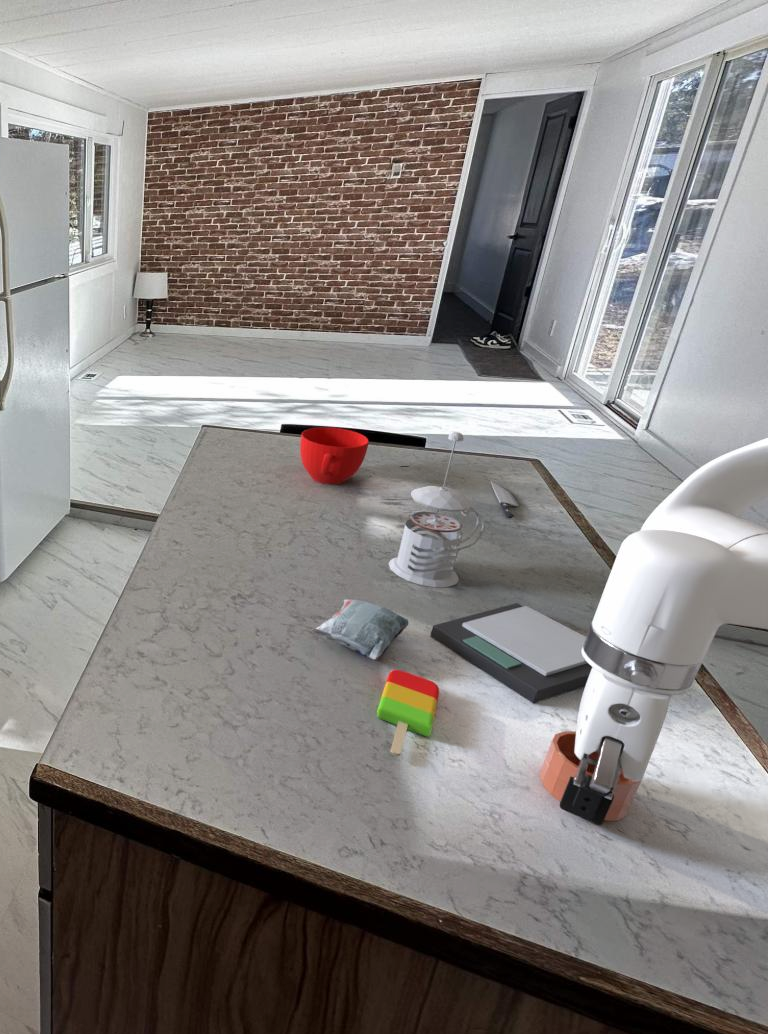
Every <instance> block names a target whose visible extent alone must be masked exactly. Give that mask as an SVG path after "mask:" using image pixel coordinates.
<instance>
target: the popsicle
mask: <svg viewBox="0 0 768 1034" xmlns="http://www.w3.org/2000/svg"><path fill="white" fill-rule="evenodd" d="M439 696H440V688H439V685H438V684H437V683H436V682H434V681H432V680H430V679H427V678H425V677H423V676H419V675H416V674H414V673H410V672H408V671H404V670H400V669H393V670H391V671H389V673H388V675H387V678H386V682H385V685H384V688H383V690H382V694H381V697H380V701H379V703H378V706H377V710H376V717H377V718H378V719H379V720H382V721H384V722H387V723H390V724H393V725H395V726H396V728H395V733H394V737H393V739H392V743H391V747H390V750H389V751H390V753H391V754H393V755H395V756H399V757H400V756H401V753H402V750H403V745H404V742H405V738H406V734H407V730H408V731H411V732H414V733H416V734H419V735H421V736H424V737H426V738H430V736H431V733H432V729H433V725H434V718H435V714H436V709H437V704H438V701H439V700H438V699H439Z"/></svg>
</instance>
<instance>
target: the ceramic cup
mask: <svg viewBox="0 0 768 1034" xmlns="http://www.w3.org/2000/svg"><path fill="white" fill-rule="evenodd" d="M368 447H369V439H368V438H367V436H365V435H363V434H362V433H359V432H357V431H354V430H349V429H345V428H339V427H327V426H325V427H324V426H323V427H311V428H308V429H305V430H303V431H302V432H301V436H300V449H299V450H300V452H299V453H300V459H301V463H302V465H303V468H304V469H305V471H306V472H307V473H308V475H309V476H310V478H311V479H312V480H313V481H315V482H318V483H321V484H326V485H341V484H343V483H344V482H345V481H347V480H348V479H350V478H352V477H353V476H354V475H355V474H356V473H357V472H358V470H359V469H360V467H361V466H362V464H363V462H364V461H365V458H366V454H367V451H368V449H369V448H368Z"/></svg>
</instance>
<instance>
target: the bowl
mask: <svg viewBox="0 0 768 1034" xmlns="http://www.w3.org/2000/svg"><path fill="white" fill-rule="evenodd" d="M575 738H576V731H572V730H564V731H561V732H558V733H555V734H554V736H553V738H552V740H551V742H550V744H549V747H548V751H547V752H546V756H545V758H544V761H543V763H542V767H541V769H540V772H539V775H538V776H539V778H540V782H541V784H542V787H543V788H544V789H545V790H546V791H547V792H548V793H549V795H550V796H551V797H553V798H554V799H555V800H557V801H558V802H560V801H561V799H562V796H563V794H564V791H565V789H566V786H567V784H568V781H569V779H570V776H571V777H574V778H575V775H576V772H577V768H578V765H579V762H580V759H579V758H578V757H577V756H576V754H575V753H574V749H575ZM598 755H599V754H598V753H596V752H593V753H591V754H590V755H589V756H591V757H593V758H596V759H598ZM594 770H595V766H593V765H590V764H588V767H587V770H586V773H585V775H591V776H592V774H593V773H594ZM642 782H643V779H642V780H641V781H638V782H634V781H632V780H630V779H628V778H625V777H624V774H623V770H622V769H621V774H620V776H619V779H618V782H617V785H616V788H615V791H614V799H613V801H612V803H611V806H610V808H609V810H608V812H607V815H606V817H605V819H604V821H610V822H614V821H618V820H621V819H623V818H626V816H627V814H628V811H629V809H630V807H631V805H632V802H633V801H634V798H635V796H636V794H637V792H638V790H639V787H640V786H641V783H642Z"/></svg>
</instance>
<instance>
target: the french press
mask: <svg viewBox="0 0 768 1034" xmlns="http://www.w3.org/2000/svg"><path fill="white" fill-rule="evenodd" d="M464 439H465V437H464V435H463V434H462V433H461V432H459V431H454V432H452V433H449V435H448V438H447V440H449V441H452V442H453V446H452V449H451V454H450V457H449V461H448V466H447V470H446V474H445V477H444V482H443V486H436V485H427V486H423V487H419V488H414V489H413V490H412V491H411V492H410V495H411V498H412V499H413V501H414V502H416V503H417V504H419V505H421V506H424V507H426V508H428V509H433V510H436V511H431V510H428V509H427V510H416V511H413V512H410V513H409V515H408V517H409V519H407V520H406V521H405V525H404V528H403V533H402V537H401V541H400V546H399V550H398V554H397V556H396V557H394V558H391V559H390V561H389V562H388V566H389V569H390V571H392V572H393V573H394V574H395V575H396V576H398V577H399V578H401V579H404V580H405V581H407V582H411V583H413V584H417V585H420V586H424V587H431V588H449V587H452V586H455V585H457V583H458V581H459V577H458V575H457V573H456V572H455V571H454V568H455V564H456V561H457V558H458V554H459V552H460V551H461V550H465V549H467V548H470V547H471V546H473V545H475V544H476V543H477V542H478V541H479V540H480V539H481V537H482V535H483V533H484V529H485V520H484V517H483V516H482V515H481V514H480V513H479V512H477V510H475V508H474V507H472V506H473V502H472V500H471V499H470V498H469V497H468V496H466V495H465V494H464V493H462V492H460V491H457V490H455V489H452V488H450V487H447V486H446V483H447V479H448V476H449V471H450V467H451V464H452V461H453V460H452V459H453V455H454V451H455V447H456V443H457V442H463V441H464ZM439 511H442V512H439ZM464 511H466V513H464ZM443 512H450V513H451V512H452V513H453V512H461V515H463V516H464V517H467V516H468V515H469V512H473V513H474V514H475V517H476V518H475V519H476V523H475V527H474V529H473V531H472V532H471V533H470V535H469V536H468V537H467V538H465V539H463V540H462V538H463V536H464V535H463V532H462V531H460V530H461V529H462V527H463V524H462V522H461V521H460V520H459V519H457V518H455V517H454V516H452V515H449V514H447V513H443ZM479 518H480V521H481V529H480V532H479V535H478V537H477V538H476V539H475V540H474V541H473V542H472V543H470V544H468V545H465V546H463V547H461V544H462V543H465V542H466V541H468V540H470V539H471V538H472V537H473V536H474V534H475V533H476V532H477V530H478V526H479V523H480V521H479ZM417 526H418V527H417ZM415 527H417V528H415ZM413 528H414V529H413ZM411 529H412V530H411ZM426 531H428V532H430V533H433V534H435V535H437V536H438V537H439V538H438V537H436V536H434V535H431V534H428V533H417V532H426ZM458 531H459V532H458ZM458 533H459V535H458ZM457 535H458V538H457ZM455 546H456V547H455ZM454 547H455V548H454ZM434 550H436V551H434ZM452 554H453V555H452ZM450 561H451V562H450Z"/></svg>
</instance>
